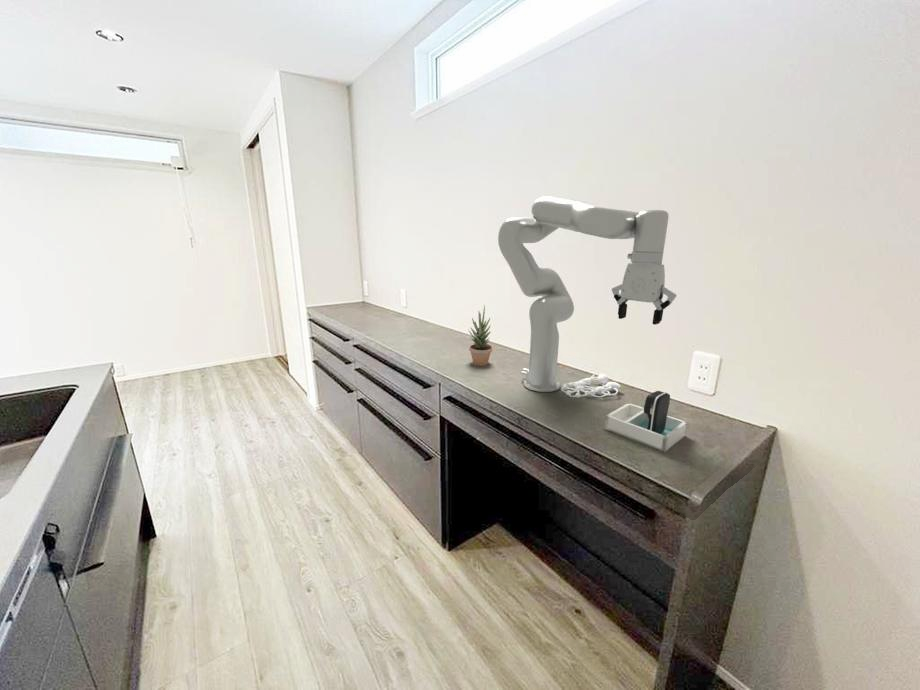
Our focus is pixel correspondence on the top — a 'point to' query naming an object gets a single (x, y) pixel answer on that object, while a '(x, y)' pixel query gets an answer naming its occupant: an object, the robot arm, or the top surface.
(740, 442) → the top surface
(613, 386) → the tangled rod sculpture
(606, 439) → the top surface
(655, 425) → the battery charger
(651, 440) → the divided compartment box
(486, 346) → the potted plant
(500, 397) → the top surface
